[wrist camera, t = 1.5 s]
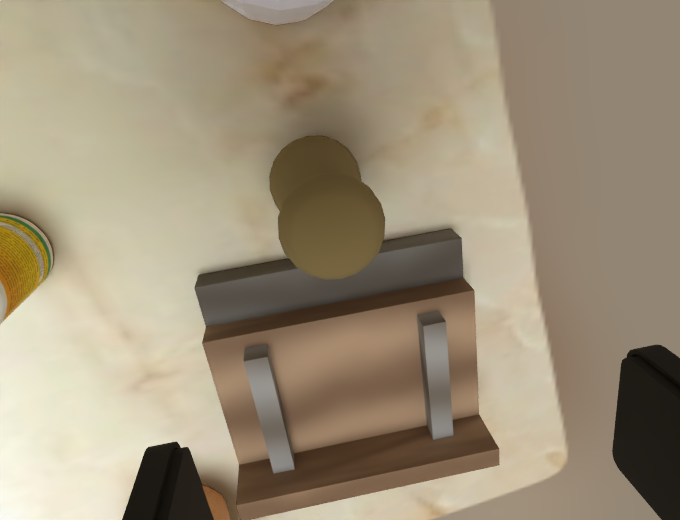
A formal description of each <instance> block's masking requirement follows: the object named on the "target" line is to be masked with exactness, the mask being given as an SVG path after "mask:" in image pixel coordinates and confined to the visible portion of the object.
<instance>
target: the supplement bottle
mask: <svg viewBox="0 0 680 520" xmlns="http://www.w3.org/2000/svg"><path fill="white" fill-rule="evenodd" d="M52 265H53V254H52V249H51V245H50V243H49V241H48V239H47V238H46V236H45V235H44V234H43V232H42V231H41V230H40V229H39V228H38V227H36V226H35V225H34V224H32V223H31V222H29V221H27V220H26V219H24V218H21V217H18V216H15V215H10V214H0V324H1V323H2V322H3V321H4V320H5V319H6V318H7V317H8V316H9V315H10V314H11V313H12V312H13V311H14V310H15V309H16V308H17V307H18V306H19V305H20V304H21V303H22V302H23V301H24V300H25V299H26V298H27V297H28V296H29V295H30V294H32V293H33V292H34V291H35V290H36V289H37V288H38V287H39V286H40V285H41V284H42V283H43V282H44V281H45V280H46V278H47V277H48V275H49V274H50V272H51V269H52Z"/></svg>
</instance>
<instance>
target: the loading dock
mask: <svg viewBox="0 0 680 520" xmlns="http://www.w3.org/2000/svg"><path fill="white" fill-rule="evenodd" d="M195 291H196V295H197V298H198V301H199V305H200V308H201V311H202V315H203V318H204V322H205V325H206V330H205V334H204V338H203V342H202V344H203V347H204V350H205V354H206V357H207V360H208V363H209V367H210V370H211V373H212V377H213V380H214V383H215V386H216V390H217V393H218V396H219V400H220V403H221V406H222V409H223V413H224V416H225V419H226V423H227V426H228V429H229V433H230V436H231V439H232V442H233V446H234V449H235V452H236V456H237V459H238V462H239V475H238V488H237V501H236V507H237V510H238V513H239V516H240V519H241V520H250V519H255V518H259V517H264V516H268V515H273V514H278V513H282V512H287V511H291V510H296V509H301V508H305V507H310V506H314V505H319V504H323V503H328V502H333V501H337V500H342V499H346V498H351V497H355V496H360V495H365V494H369V493H374V492H378V491H383V490H388V489H392V488H397V487H401V486H406V485H410V484H415V483H420V482H424V481H429V480H433V479H438V478H442V477H447V476H452V475H456V474H461V473H465V472H470V471H475V470H479V469H484V468H488V467H493V466H497V465H499V448H498V446H497V444H496V443H495V441H494V439H493V438H492V436H491V434H490V432H489V431H488V429H487V427H486V426H485V424H484V422H483V420H482V419H481V417H480V415H479V404H478V377H477V351H476V324H475V297H474V289H473V288H472V287H471V286H470V285H469V284H468V283H467V282H466V280H465V279H464V278H463V262H462V241H461V237H460V236H459V235H457V234H456V233H455V232H454V231H453V230H452V229H447V230H441V231H436V232H430V233H425V234H420V235H414V236H409V237H403V238H398V239H393V240H387V241H383V242H382V245H381V247H380V250H379V253H378V254H377V255H376V256H375V258H374V259H373V260H372V261H371V263H370V264H369V265H368V266H366V267H365V268H363V269H362V270H361V271H359V272H358V273H356V274H354V275H351V276H348V277H345V278H342V279H322V278H318V277H314V276H310V275H308V274H307V273H305V272H304V271H302V270H300V269H299V268H297V267H296V266H295V265H294V263H293V262H292V261H291V260H290V259H284V260H279V261H273V262H268V263H262V264H257V265H252V266H246V267H241V268H235V269H230V270H224V271H219V272H214V273H208V274H203V275H199V276H198V279H197V282H196V285H195Z"/></svg>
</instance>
